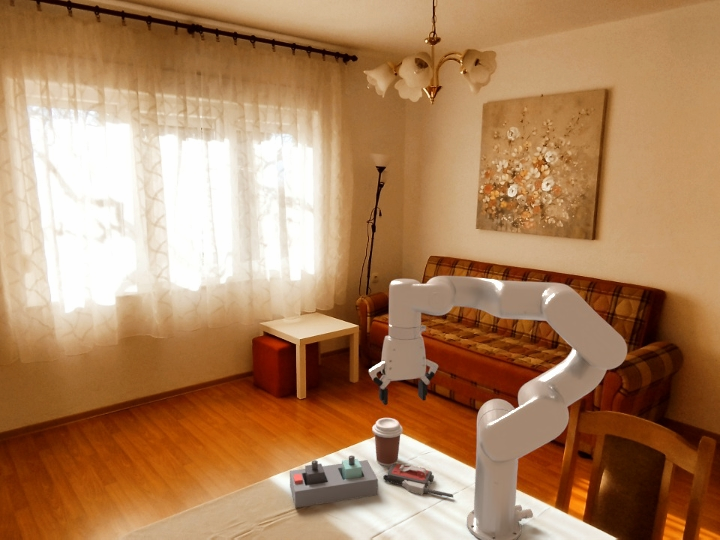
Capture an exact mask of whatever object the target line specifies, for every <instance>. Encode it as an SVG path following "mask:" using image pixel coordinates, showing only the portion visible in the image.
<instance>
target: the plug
mask: <svg viewBox="0 0 720 540" xmlns="http://www.w3.org/2000/svg"><path fill="white" fill-rule="evenodd" d="M359 461H360V460H359V459H358V458H355V455H349V456H348V459H347V460H342V461H341V464H342V479H343V480H346V479H352V478H359V477H362V467H361V465H360V463H359Z"/></svg>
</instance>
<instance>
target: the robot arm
mask: <svg viewBox="0 0 720 540" xmlns="http://www.w3.org/2000/svg"><path fill="white" fill-rule="evenodd" d="M388 288H389V290H388V335H385V336H384V339H383V344H382V351H381V361H380V362H379V363H377V364H375V365H374V366H372V367H371V368H369V369H368V371H367V372H368V374H369V376H370V377H371V380H372V381H373V382H374V383H375V384H376V385H378V387H379V388H378V391H379V392H378V399H379V401H381V403H382V404H383V405H384V406H387V405H388V404H389V403H388V401H389V400H388V399H389V395H388V394H389V393H388V392H389V390H388V387H387V386H388V385H389V384H390V383H391V382H394V381H404V380H414V379H420V380H418V384H417V385H418V386H417V387H418V391H417V392H418V393H417V396H418V397H419V399H421V401H424V402H425V401H427V400H426V399H427V396H428V385H429V384H430V382H431V381H432V379H433V378H434V377H435V375H436V372H437V370H438V368H439V365H438V364H437V363H436V362H434V361H431V360H429V359H427V358H426V348H425V342H424V338H423V336H422V333H423V332H427V326H426V325H423V324H422V314H426V315H429V316H430V315H431V316H443V315H444V316H445V315H446V314H448V313H449V312H450V311H451V310H452V309H453V308H454V307H463V308H470V309H471V308H472V309H476V310H480V311H483V312H486V313H488V314H489V315H491V316H494V317H497V318H499V319H504V320H505V319H510V320H525V321H526V320H527V321H528V320H530V321H546V322H547V323H548V325H549V326H550V327H551V328H552V329H553V330H554V331H555V332H556V334H558V335H559V336H560V337H561V338H562V340H563V341H565V342H566V343H567V344H568V345H569V346H570V347H571V351H570V352H569V354H568V355H567V356H566V358H564V359H563V360H562V361H561V362H559V363H558V364H556V365H555V366H553V367H551V368H550V369H548V370H547V371H545V372H543V373H541V374H540V375H538V376H537V377H534V378H533V379H531V380H529V381H528V382H526V383H524V384H523V385H522V386H521V387H520V388H519V390H518V393H517V402H518V406H517V407H514V405H512V404H511V403H510V402H508V401H507V400H505V399H501V398H493V399H490V400H488V401H486V402H484V403H483V405H482V406H480V409H479V410H478V413H477V417H476V455H475V460H476V461H475V475H474V497H473V498H474V500H473V510H471V511H470V512H469V513H468V515H467V516H466V526H467V528H468V530H469V532H470V533H471V534H472V535H473V536H475V538H478V539H479V540H518V538H519V539H520V537H521V532H522V527H521V524H520V522H521V521H522V520H523V519H530V518H533V517H534V513H533V511H532V509H531V508H527V509H523V508H522V506H521V504H517V505H516V502H517V500H516V498H517V484H518V483H517V481H518V468H519V459H521V458H522V457H524V456H526V455H528V454H530V453H531V452H534V451H536V450H537V449H538V448H541V447H543V446H544V445H546V444H548V443H550V442H551V441H554V440H555V439H557V437H559V436H560V435H561V434H562V433H563V432H564V431H565V429H566V428H567V426H568V423H569V419H570V413H569V408H568V407H569V406H571V405H572V404H574V403H576V402H577V401H579V400H580V399H582V398H583V397H585V396H586V395H588V394H589V393H591V392H592V391H593V390H594V389H596V387H597V386H599V384H601V381H602V380H603V379H604V377H605V375H606V373H607V370H613V369H615V368H618V367H620V365H622V364H623V362H624V361H625V360H626V358H627V354H628V345H627V343H626V341H625V338H624V337H623V336H622V335H621V334H620V333H619V332H618V331H616V330H615V329H614V327H613V326H612V325H610V324H609V323H608V322H607V321H606V320H605V319H604V318H602V316H600V315H599V313H597V312H596V311H595V310H594V309H593V307H591V306H590V305H589V304H588V302H586V301H585V299H584V298H583V297H582V296H581V295H580V294H579V293H578V292H577V291H575V289H573V288H572V287H571V286H569V285H567V284H565V283H562V282H561V283H560V282H546V281H545V282H544V281H543V282H542V281H522V280H521V281H518V280H500V279H493V278H483V277H473V276H459V275H457V276H456V275H438V276H434V277H431V278H430V279H429V280H428V281H427V282H426V283H421V282H420V281H419V280H417V279H412V278H396V279H393V280H391V282H390V283H389V285H388ZM427 367H429V370H428V371H427ZM379 372H381V374H382V375H381V376H380V378H379V377H378V376H377V374H378V373H379Z"/></svg>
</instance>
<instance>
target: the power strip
mask: <svg viewBox="0 0 720 540" xmlns="http://www.w3.org/2000/svg"><path fill="white" fill-rule="evenodd" d="M358 461H359V463H360V465H361V467H362V477H359V478H352V479H346V480H343V479H342V463H337V464H336V463H335V464H329V465H328V464H327V465H323V464H322V463H319V462H318V460H312V461H311V464H309V465H304V468H301V469H293V470H289V488H290V492H291V495H292V501H293V503H294V507H295V509H296V508H303V507H309V506H315V505H321V504H322V505H323V504H328V503H333V502H334V503H335V502H340V501H345V500H352V499H360V498H365V497H370V496H377V495H378V493H379V492H378V489H379V488H378V487H379V485H378V484H379V482H378V481H379V480H378V477H377V475H376V474H375V472H374V471H375V470H373V467H372V466H371V464H370V463H369V461H368V459H367V460H358Z"/></svg>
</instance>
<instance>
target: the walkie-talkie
mask: <svg viewBox="0 0 720 540" xmlns="http://www.w3.org/2000/svg"><path fill="white" fill-rule="evenodd" d="M382 476H383V477H382V478H383V480H385V481H387V482H388V483H390V484H396V485H398V486H401V487H403V488H405V490H406V491H408V492H409V493H410V492H411V493H414V494H419V495H424V493H425V494H432V495H435V496H440V497H442V496H444V497H449V498H454V495H453V494H452V493H448V492H444V491H440V490H435V489H431V488H430V486H429V485H431V484H433V483H434V480H435V476H434V474H433V472H432V470H427V469H426V468H425V467H421V466H420V467H419V466H416V465H410V466H408V465H404V464H400V463H396V464H392V466H389V469H388V470H387V474H384V475H382Z"/></svg>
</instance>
